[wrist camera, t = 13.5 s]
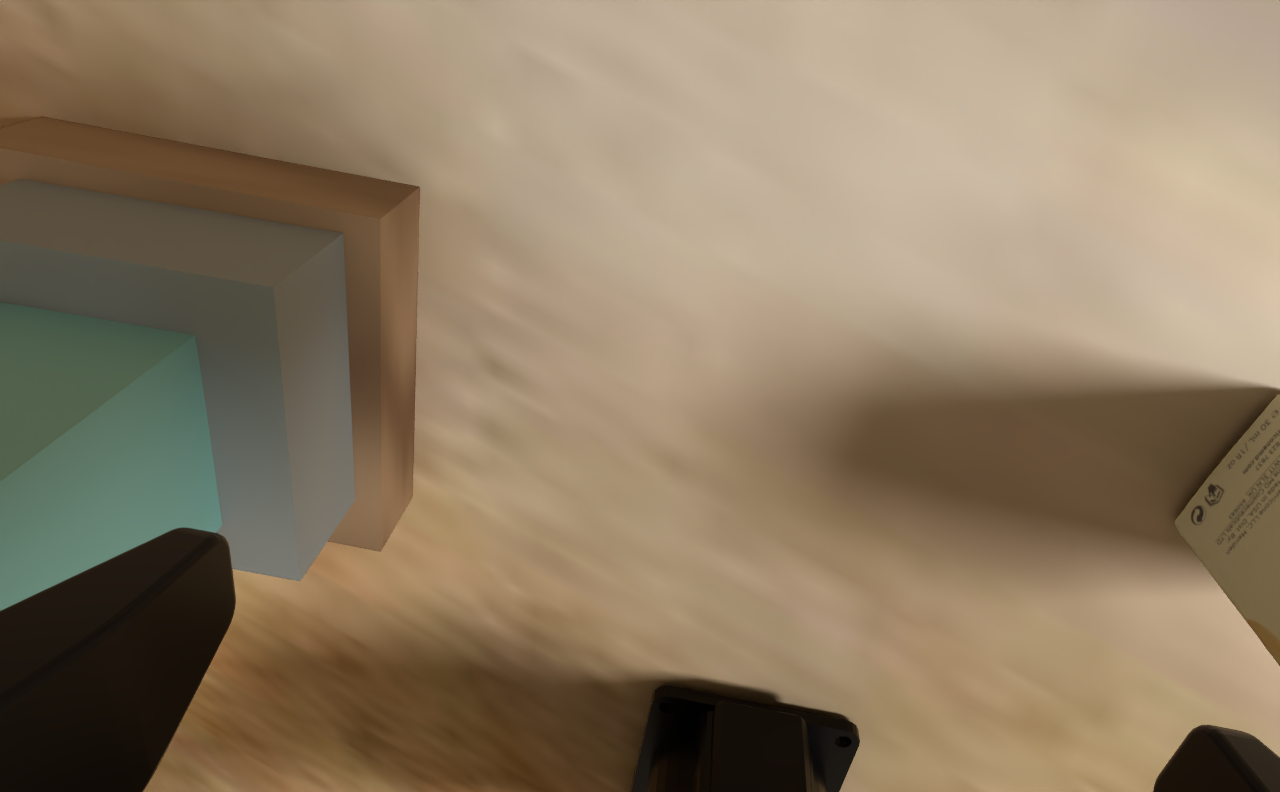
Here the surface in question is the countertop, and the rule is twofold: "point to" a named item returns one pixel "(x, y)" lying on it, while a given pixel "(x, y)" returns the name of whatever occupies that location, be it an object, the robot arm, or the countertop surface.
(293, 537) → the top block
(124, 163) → the bottom block
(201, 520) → the pillar block
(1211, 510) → the skincare box
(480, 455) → the countertop surface
